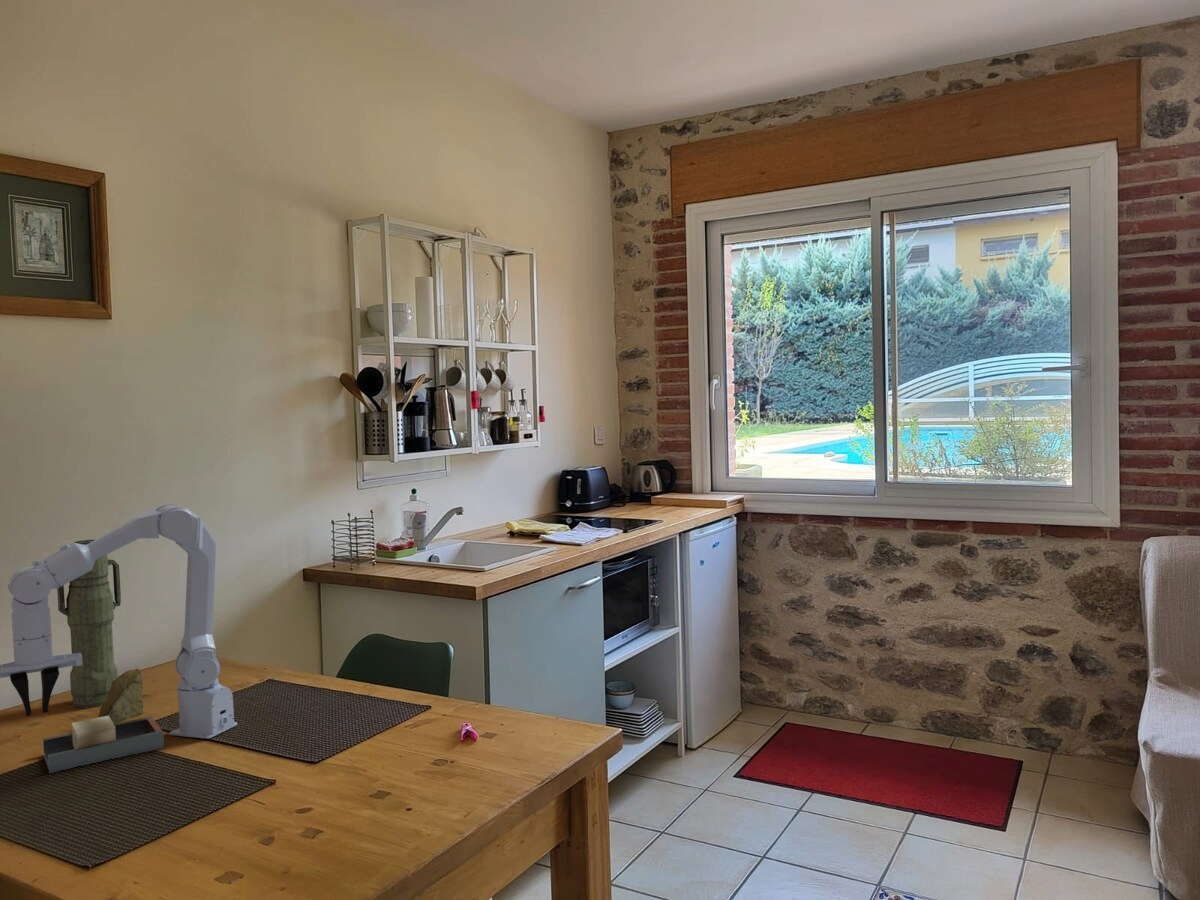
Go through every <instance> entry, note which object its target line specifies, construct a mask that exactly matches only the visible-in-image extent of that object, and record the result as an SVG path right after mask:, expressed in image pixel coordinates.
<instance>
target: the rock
mask: <svg viewBox="0 0 1200 900" xmlns="http://www.w3.org/2000/svg"><path fill="white" fill-rule="evenodd" d="M142 676H143V675H142V672H141V671H140V669H139V668H136V669H129V670H126V671H125V672H123V673H122V674H120V675H118V678H116V679H115V680H113V681H112V683H111V688H110V691H109V692H108V695H107V697H106V700H105V701H104V702H103V704H102V706H100V710H99V713H98V715H97V718H99V717H104V716H109V717H110V719H111V720H112V722H113V724H115V723H116V724H117V722H118V723H120V722H119V721H121V722H123V721H126V720H125V719H127V720H129V719H131V718H130V717H132V718H133V716H134V717H136V716H139V715H141V714H142V713H144V701H143V697H142V696H143V689H144V688H143V681H144V680H143V677H142ZM128 718H129V719H128ZM122 720H123V721H122Z"/></svg>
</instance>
